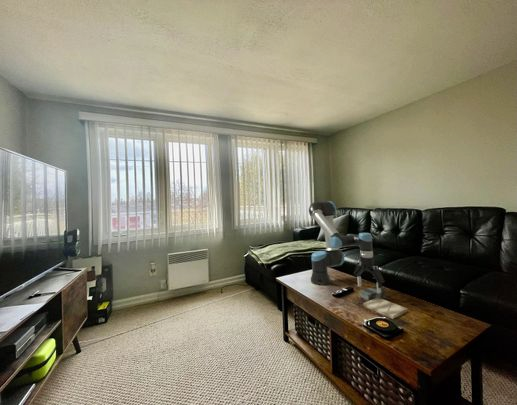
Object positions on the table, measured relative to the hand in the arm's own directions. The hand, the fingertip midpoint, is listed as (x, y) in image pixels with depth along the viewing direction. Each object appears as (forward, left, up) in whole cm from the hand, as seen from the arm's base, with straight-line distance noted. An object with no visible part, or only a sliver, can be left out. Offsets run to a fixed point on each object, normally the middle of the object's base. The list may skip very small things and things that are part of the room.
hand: (369, 289), depth 135 cm
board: (+14, -7, -5) cm, 17 cm away
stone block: (+1, 0, -5) cm, 5 cm away
